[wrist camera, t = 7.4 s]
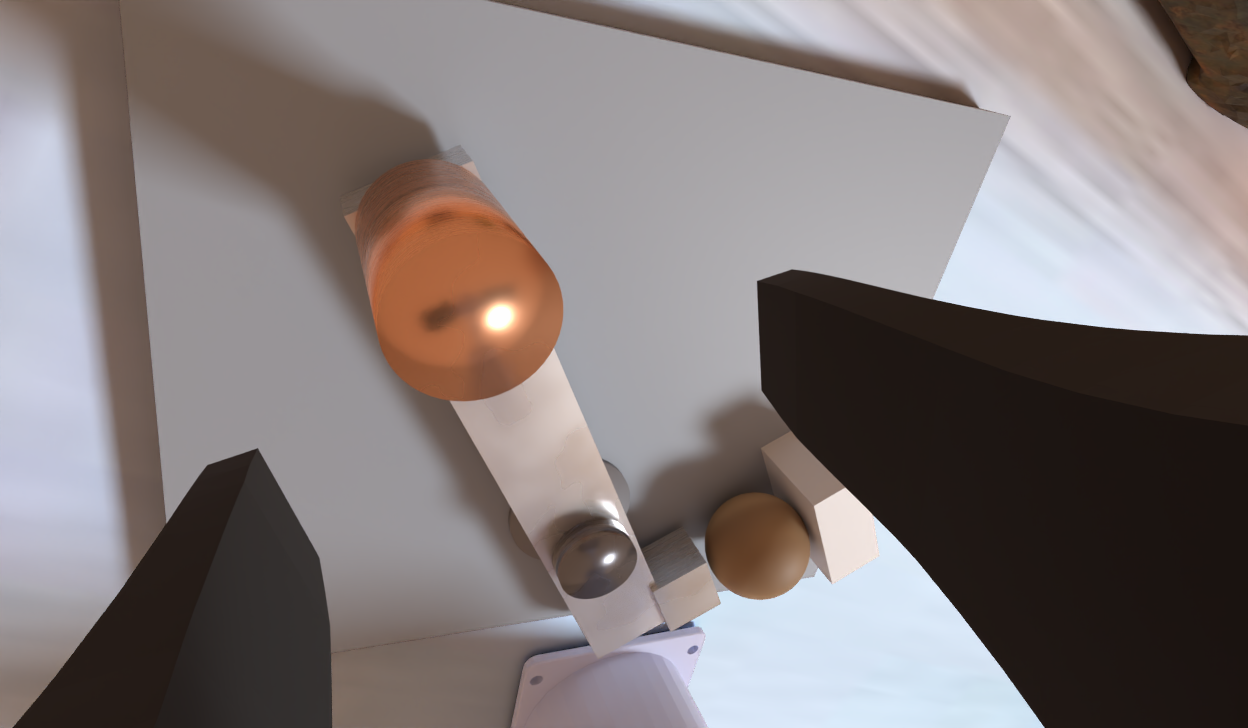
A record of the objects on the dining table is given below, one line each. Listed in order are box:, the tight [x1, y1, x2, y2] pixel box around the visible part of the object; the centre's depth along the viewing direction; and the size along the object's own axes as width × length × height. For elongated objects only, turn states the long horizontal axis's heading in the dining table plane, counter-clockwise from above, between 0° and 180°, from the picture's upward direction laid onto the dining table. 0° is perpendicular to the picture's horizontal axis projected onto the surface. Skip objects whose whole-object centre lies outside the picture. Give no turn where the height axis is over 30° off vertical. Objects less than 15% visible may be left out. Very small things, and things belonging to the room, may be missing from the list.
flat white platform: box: [119, 0, 1011, 653], centre depth 21 cm, size 19×23×4 cm
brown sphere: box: [705, 492, 810, 600], centre depth 25 cm, size 4×4×4 cm
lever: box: [340, 145, 721, 659], centre depth 18 cm, size 18×5×6 cm, turn 17°
